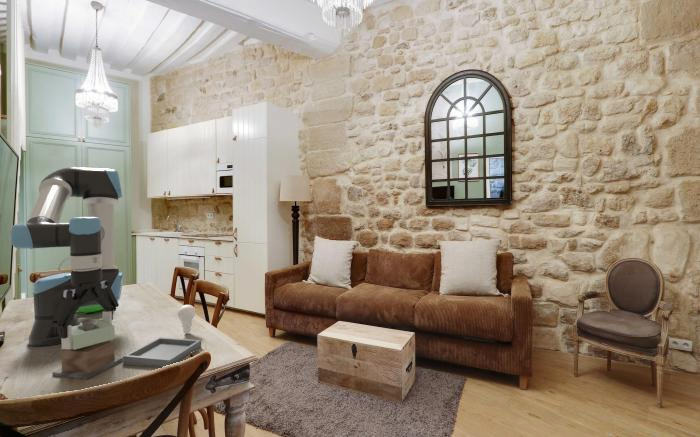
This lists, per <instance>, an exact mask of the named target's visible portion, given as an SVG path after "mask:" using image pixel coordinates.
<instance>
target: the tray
mask: <svg viewBox="0 0 700 437" xmlns="http://www.w3.org/2000/svg"><path fill="white" fill-rule="evenodd" d="M201 348H202V340H201V339H191V338H177V337H164V336H163V337H162V336H159V337H157V338H155V339H154V340H152V341H150V342H148V343H145V344H143V345H142V346H140V347H138V348H136V349H134V350H132V351H130V352H128V353H126V354H125V355H123V356H122V358H123V361H122V364H123V365H128V366H140V367H147V368H148V367H149V368H158V369H159V368H160V367H163V366H166V365H170V364H173V363H176V362H179V361H180V362H182V361H183V360H185V359H186V358H188V357H189V356H191V355H192V354H191V352H193V351H195V352H197V351H198V350H200V349H201ZM196 350H197V351H196ZM190 354H191V355H190ZM180 362H179V363H180Z"/></svg>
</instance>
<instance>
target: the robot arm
mask: <svg viewBox="0 0 700 437" xmlns="http://www.w3.org/2000/svg"><path fill="white" fill-rule="evenodd" d="M120 180H121V179H120V175H119V172H118V171H117V170H116V169H113V168H112V169H111V168H105V167H103V168H98V167H95V168H94V167H77V166H71V167H64V168H61V169H57V170H56V171H53V172H51V173H50V174H48V175H47V176H45V177H44V178H43V179H42V180H41V182H40V184H39V186H38V192H39V195H38V197H37V199H36V202H34V203H35V204H34V206H33V208H32V210H31V212H30V215H29V216H28V219H27V221H26V222H21V223H16V224H13V226H12V227H11V230H10V241H11V245H12V247H13V248H15V249H28V250H29V249H30V250H32V249H45V248H67V247H69V250H70V252H69V254H70V255H69V257H70V259H69V262H70V263H69V264H70V266H69V268H70V270H71V271H70V272H63V273H62V272H61V274H59V273H57V274H52V275H48V276H45V277H42V278H38V279H37V280H35V282H34V283H33V292H32V294H33V308H34V309H33V310H34V313H33V314H34V322H33V324H32V328H31V331H30V334H29V335H28V345H30V346H33V347H47V346H53V345H59V344H61V350H62V349H72V327H73V326H77V325H81V323H78V317H77V312H78V311H77V310H78V309H79V307H88V306H97V305H101V306H102V307H103V308H104V309H103V311H102V320H103V321H105V322H108V323H110V324H112V325H113V320H114V312H115V311H117V308H118V307H119V306H120V305H119V301H120V299H121V295H122V289H123V281H124V273H123V272H121V271H120V268H119V267H118V266H116V265H115V213H114V210H115V208H114V207H115V206H116V204H118V202H119V199H121V198H123V193H122V192H123V191H122V189H121V188H122V186H121V182H120ZM70 198H82V202H83V203H84V204H86V205H87V216H77V217H76V216H74V217H70V219H69V222H60V220H61V217H62V215H63V212H64V208H65V205H66V202H67V200H69V199H70Z"/></svg>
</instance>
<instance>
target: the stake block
mask: <svg viewBox="0 0 700 437" xmlns="http://www.w3.org/2000/svg"><path fill="white" fill-rule="evenodd" d="M77 318H78V317H77ZM98 321H99V319H98V318H91V317H79V318H78V323H80V324H82V330H84V331H89V330H93V329H94V324H96V323H98ZM60 351H61V368H59V369H57V370H54V371H52V376H53V375H55V376H54V377H60V376H64V377H63V378H70V377H74V378H73V379H80V378H86V379H85V380H90V379H92V378H94V377H96V376H97V375H99V374H101V373H103V372H105V371H107V370H108V369H111V368H112V367H114V366H116V365H118V364H120V363H123V357H118V356H116V354H115V339H112V340H109V341H105V342H101V343H97V344H94V345H90V346H86V347H83V348H79V349H75V350H74V349H62V348H61V350H60ZM95 375H96V376H95ZM93 376H94V377H93ZM89 378H90V379H89Z"/></svg>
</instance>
